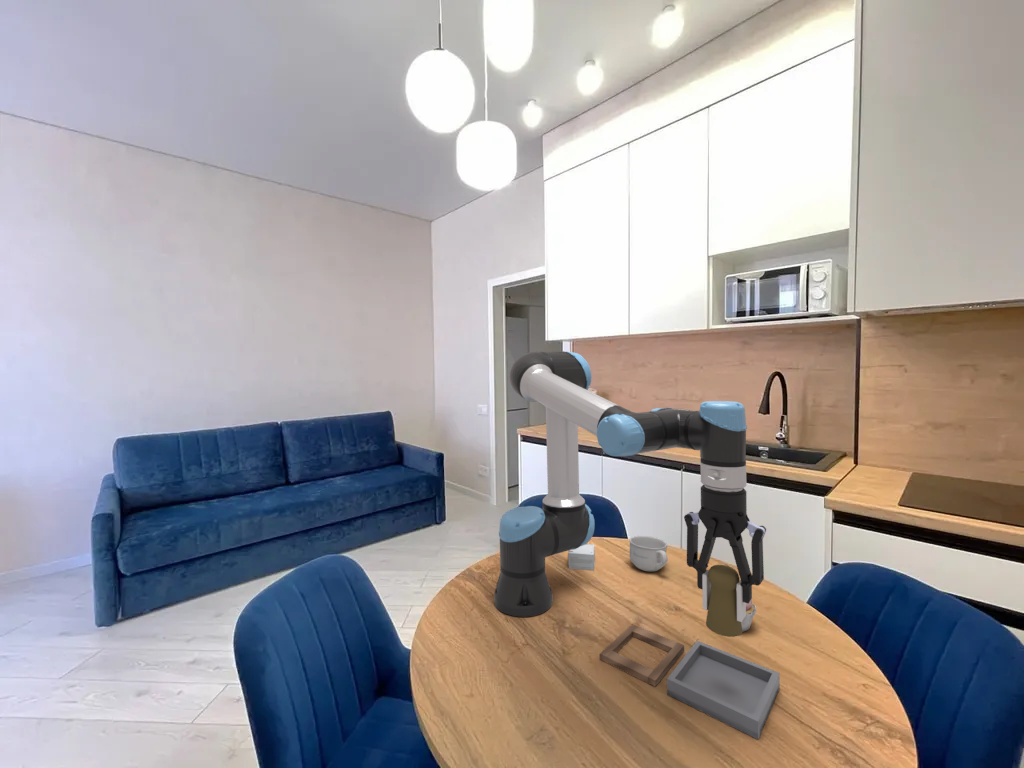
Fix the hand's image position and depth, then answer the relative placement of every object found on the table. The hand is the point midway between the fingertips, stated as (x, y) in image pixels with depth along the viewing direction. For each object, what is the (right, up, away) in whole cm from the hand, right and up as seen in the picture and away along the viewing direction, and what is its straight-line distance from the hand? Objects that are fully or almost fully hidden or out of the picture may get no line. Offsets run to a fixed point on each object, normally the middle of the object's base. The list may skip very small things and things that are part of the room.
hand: (723, 612), depth 81 cm
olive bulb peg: (0, -3, 0) cm, 3 cm away
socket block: (-12, -15, +11) cm, 22 cm away
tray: (0, -15, +1) cm, 15 cm away
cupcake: (+13, -14, +22) cm, 29 cm away
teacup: (+2, -14, +50) cm, 52 cm away
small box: (-17, -14, +55) cm, 59 cm away
